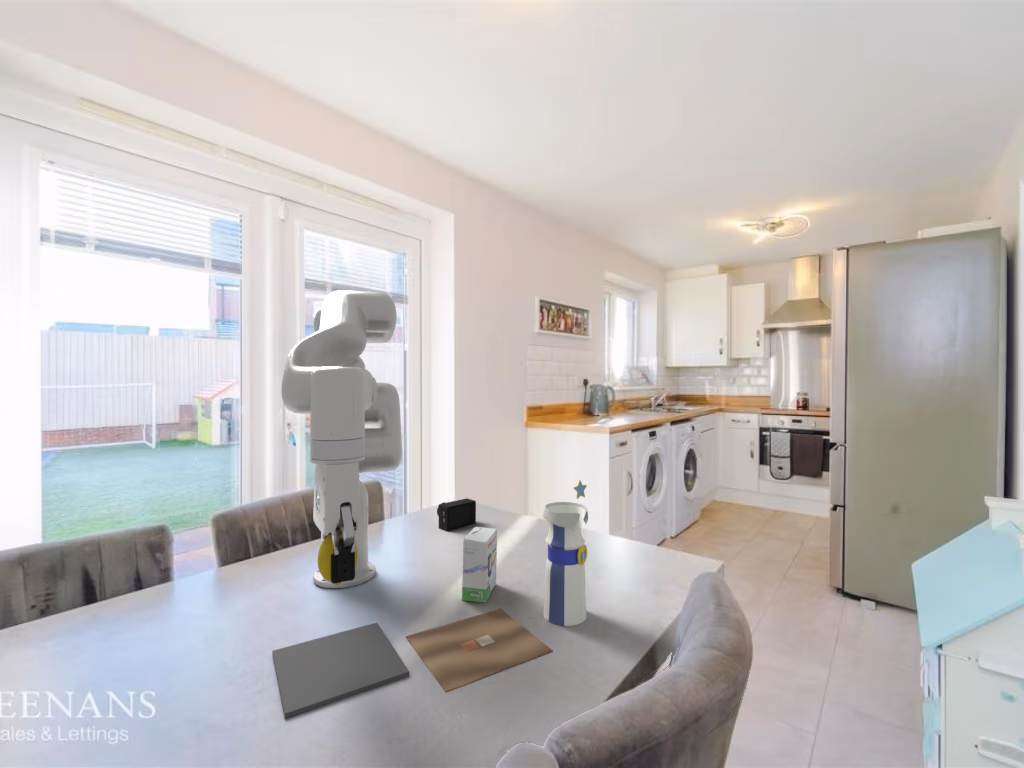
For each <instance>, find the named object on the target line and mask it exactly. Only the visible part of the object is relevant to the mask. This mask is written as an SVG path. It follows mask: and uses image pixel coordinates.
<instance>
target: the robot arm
mask: <svg viewBox="0 0 1024 768" xmlns="http://www.w3.org/2000/svg"><path fill="white" fill-rule="evenodd" d="M397 316H398V315H397V307H396V304H395V302H394V299H393V298H392V297H391V296H390V295H389V294H387V293H385V292H381V291H364V290H350V289H349V290H347V289H346V290H345V289H343V290H340V289H339V290H336V291H335V290H334V291H333V292H330V293H329V294H328V295H327V296H325V298H324V300H323V302H322V305H321V306H319V307H318V308H316V310H315V311H314V313H313V318H312V319H313V320H312V321H313V331H314V332H313V333H312V334H310V335H309V336H306V337H305V338H303V339H302V340H301V341H299V342H298V343H297V344H295V345H294V346H293V348H292V349H290V352H289V353H288V355H287V358H286V362H285V365H284V369H283V375H282V380H281V392H280V393H281V399H282V402H283V405H284V406H285V408H286V409H287V410H288V411H291V412H292V413H294V414H301V415H302V414H306V415H308V414H309V415H310V417H309V418H310V419H309V421H310V422H309V425H310V426H309V428H310V431H309V433H310V434H309V436H310V438H309V439H310V440H309V441H310V442H309V443H310V444H309V445H310V447H309V448H310V449H309V450H310V452H309V455H310V456H309V457H310V458H309V459H310V463H311V464H315V471H314V488H313V490H314V491H313V512H312V513H313V515H312V516H313V517H312V518H313V523H314V524H315V526H316V527H317V528H318V530H319V531H320V542H321V543H322V542H323V541H324V539H325V538H326V537H327V536H329V535H330V534H332V544H333V554H331V581H328V580H326V579H325V578H324V577H323V576H322V575H321V573H320V571H319V568H318V569H316V571H315V572H313V575H312V581H313V583H314V584H315V585H316V586H319V587H322V588H327V589H343V588H344V589H345V588H350V587H355V586H357V585H360V584H364V583H366V582H367V581H370V580H372V578H373V577H374V576H375V575H376V570H377V569H376V565H375V564H374V563H372V562H370V561H369V493H368V490H367V488H366V486H365V485H364V483H363V482H362V481H361V480H360V477H361V476H360V474H363V473H378V472H391V471H394V470H396V469H398V468H399V467H400V464H401V462H402V456H403V450H402V449H403V444H402V442H403V441H402V440H403V439H402V422H401V421H402V420H401V405H400V404H401V402H400V396H399V392H398V390H397V388H396V386H395V385H393V384H391V383H390V382H389V383H388V382H377V379H376V378H375V377H374V376H373V374H372V373H371V372H370V371H369V370H368V369H366V364H365V362H364V360H363V359H362V357H360V356H361V355H362V354H363V353H364V351H365V349H366V347H367V343H372V344H374V343H376V344H382V343H383V344H384V343H387V342H389V341H390V340H392V338H393V335H394V333H395V329H396V326H397V321H398V319H397ZM367 425H376V426H378V427H371V428H370V427H369V428H367V427H366V426H367ZM336 530H340V531H337V532H336ZM341 535H343V536H342V538H341V539H340V540H339V541H338V536H341ZM354 541H355V543H356V546H357V551H358V559H357V564H356V568H355V544H354ZM321 543H320V544H321ZM339 582H341V584H339V585H336V584H335V583H339Z"/></svg>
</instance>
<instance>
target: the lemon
mask: <svg viewBox="0 0 1024 768" xmlns="http://www.w3.org/2000/svg"><path fill="white" fill-rule="evenodd" d="M337 531H340V530H336V532H337ZM342 536H343V535H341V536H338V541H339V540H340V539H341V538H342ZM354 544H355V568H356V564H357V559H358V551H357V546H356V543H355V541H354ZM331 554H333V544H332V534H330V535H329V536H327V537H326V538H325V539H324V541H323V542H322V543H320V545H319V549H318V553H317V568H318V569H319V571H320V573H321V575H322V576H323V577H324V578H325V579H326V580H328V581H331ZM335 584H336V585H339V584H341V582H339V583H335Z"/></svg>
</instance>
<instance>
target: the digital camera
mask: <svg viewBox="0 0 1024 768" xmlns="http://www.w3.org/2000/svg"><path fill="white" fill-rule="evenodd" d="M436 515H437V516H438V529H440V530H441V531H444V532H447V533H448V532H451V531H455V530H459V529H463V528H466V526H467V527H469V525H470V526H474V525H476V524H477V521H476V518H477V501H476V500H474V499H470V498H462V499H459V500H458V499H457V500H454V501H448V502H445V501H444V502H442V503H440V504H438V507H437V508H436ZM473 524H474V525H473Z"/></svg>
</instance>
